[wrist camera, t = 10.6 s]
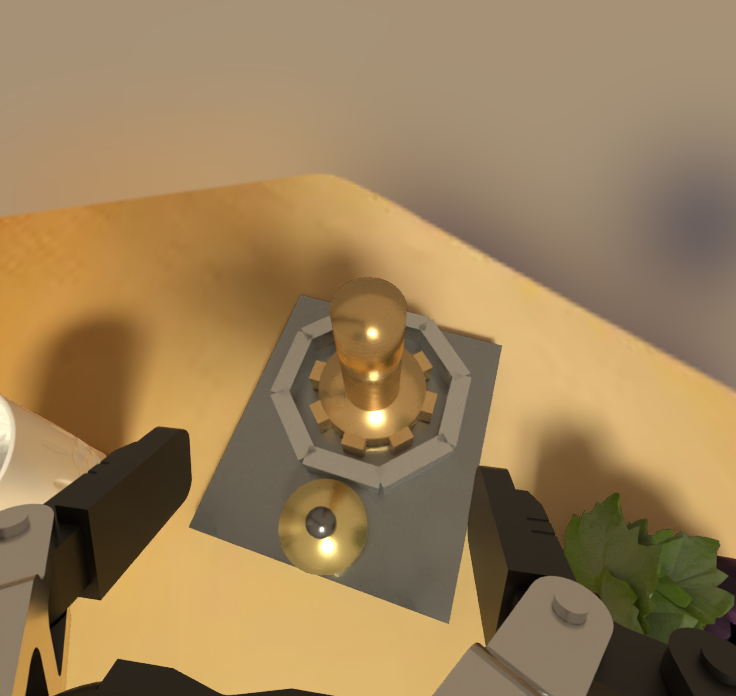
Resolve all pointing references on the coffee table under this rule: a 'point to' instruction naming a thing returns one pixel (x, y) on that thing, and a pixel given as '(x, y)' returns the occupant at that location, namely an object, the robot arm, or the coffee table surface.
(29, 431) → the white cup
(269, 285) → the coffee table surface
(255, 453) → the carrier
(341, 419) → the gear
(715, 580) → the fruit
